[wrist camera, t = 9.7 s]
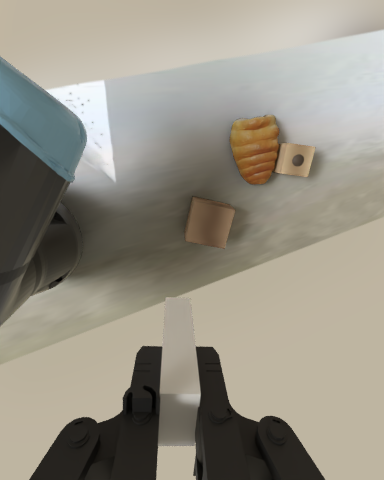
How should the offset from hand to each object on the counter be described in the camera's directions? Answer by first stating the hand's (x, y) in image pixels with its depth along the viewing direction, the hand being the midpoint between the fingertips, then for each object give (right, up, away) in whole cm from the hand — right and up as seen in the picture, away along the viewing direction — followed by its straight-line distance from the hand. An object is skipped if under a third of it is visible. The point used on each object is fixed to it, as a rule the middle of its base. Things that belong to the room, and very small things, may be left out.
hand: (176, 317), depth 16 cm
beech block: (+15, +17, +23) cm, 33 cm away
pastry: (+8, +16, +24) cm, 30 cm away
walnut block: (+3, +8, +26) cm, 27 cm away
